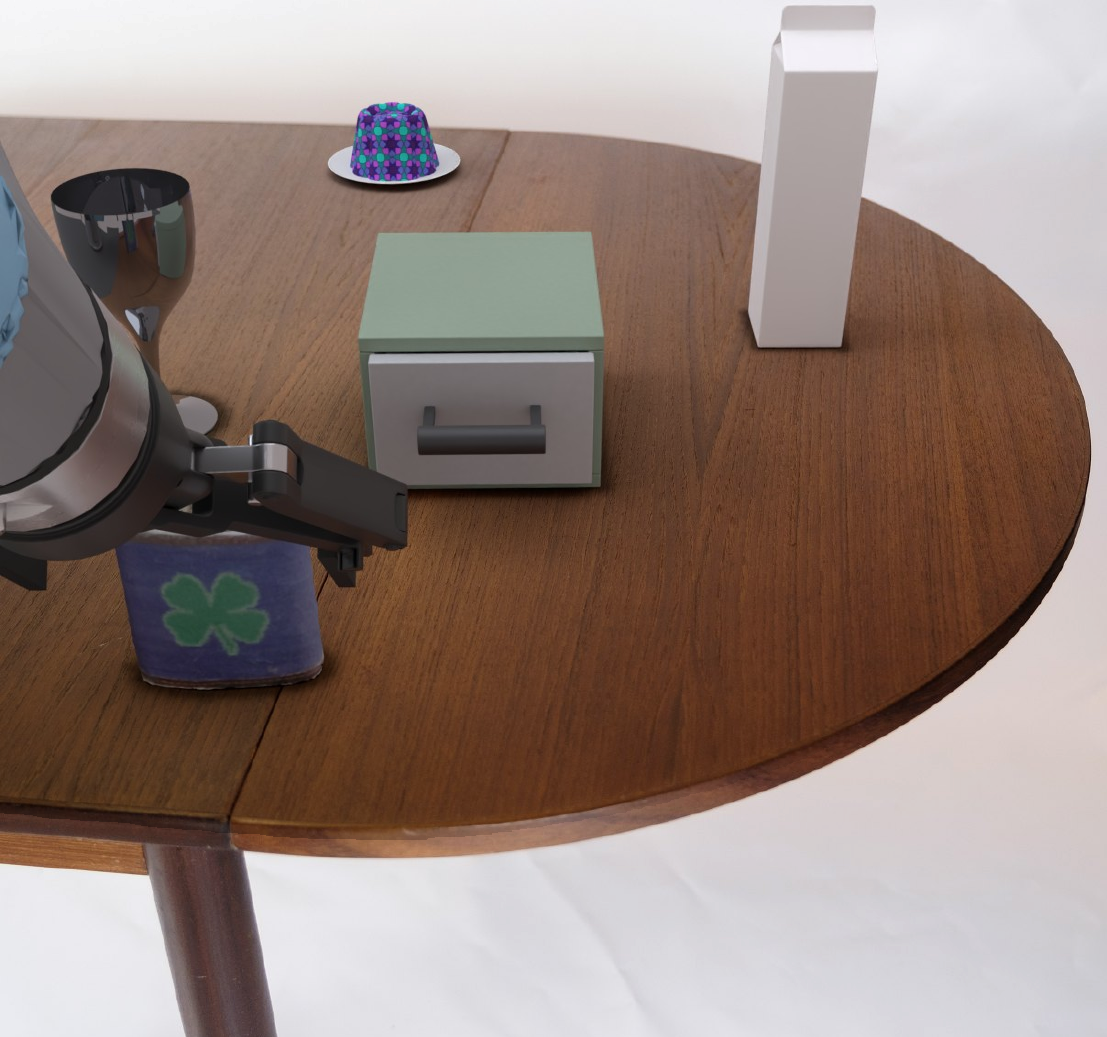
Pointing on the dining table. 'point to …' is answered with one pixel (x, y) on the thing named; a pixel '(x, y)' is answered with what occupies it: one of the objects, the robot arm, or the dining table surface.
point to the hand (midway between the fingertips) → (193, 559)
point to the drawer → (483, 416)
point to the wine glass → (134, 254)
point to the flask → (220, 609)
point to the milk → (812, 173)
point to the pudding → (393, 148)
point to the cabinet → (484, 306)
